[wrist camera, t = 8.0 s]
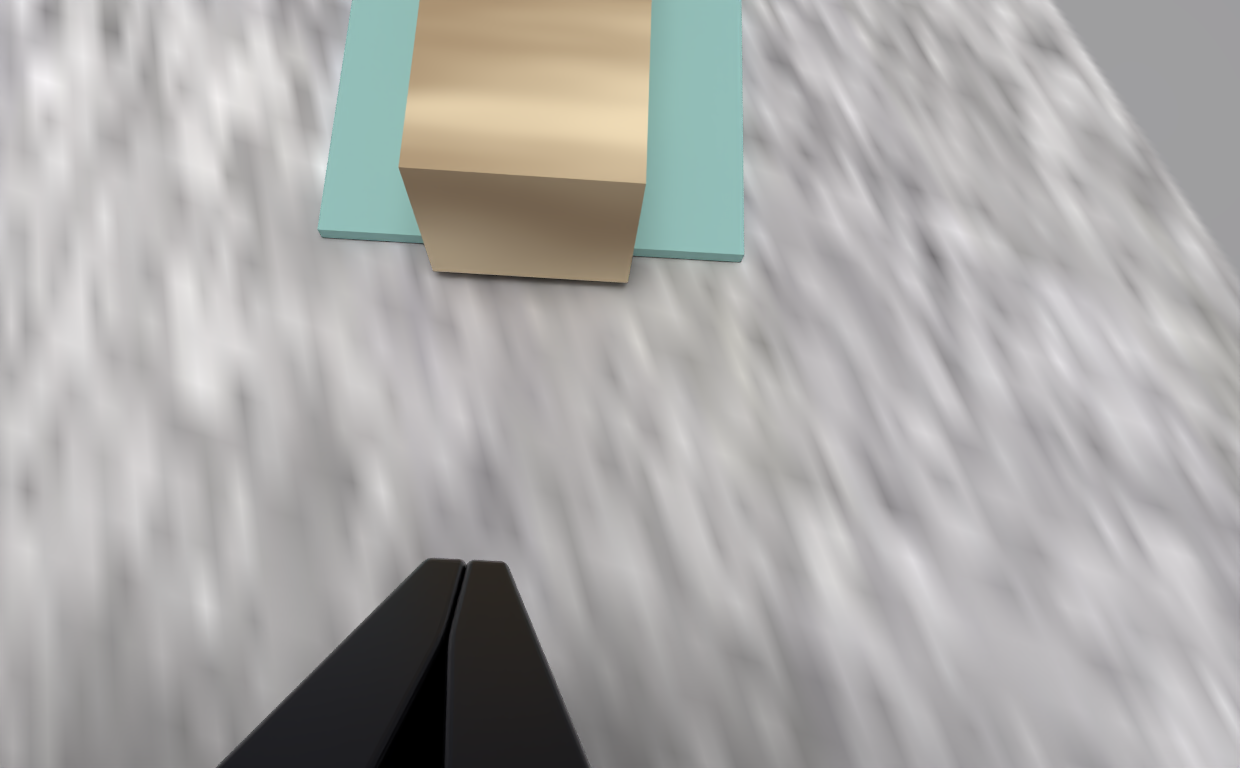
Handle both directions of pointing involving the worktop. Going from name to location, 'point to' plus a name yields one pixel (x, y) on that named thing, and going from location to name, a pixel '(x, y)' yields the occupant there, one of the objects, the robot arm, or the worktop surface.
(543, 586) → the worktop surface
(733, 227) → the rubber mat
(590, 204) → the maple block
